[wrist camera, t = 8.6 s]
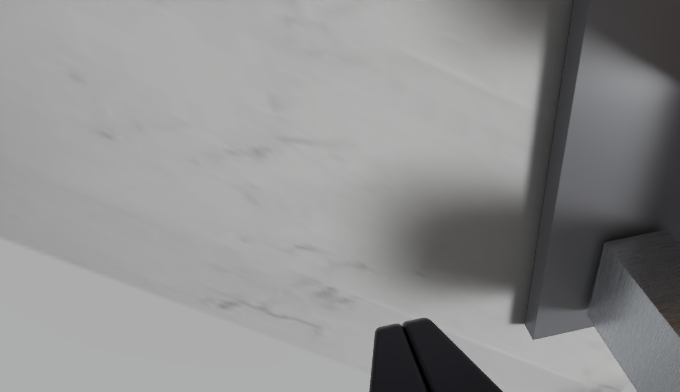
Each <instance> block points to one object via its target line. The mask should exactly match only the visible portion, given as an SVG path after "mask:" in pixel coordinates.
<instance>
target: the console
mask: <svg viewBox="0 0 680 392" xmlns="http://www.w3.org/2000/svg"><path fill="white" fill-rule="evenodd" d="M666 229H668V231H669V232H670V233H671V234H672V235H673V236H674V237H675V238H676V239H677V240H678V241H679V242H680V0H573V7H572V14H571V20H570V27H569V34H568V41H567V47H566V54H565V61H564V67H563V74H562V81H561V87H560V94H559V101H558V107H557V114H556V121H555V127H554V134H553V141H552V148H551V154H550V161H549V168H548V174H547V181H546V188H545V194H544V201H543V208H542V214H541V221H540V228H539V235H538V241H537V248H536V255H535V261H534V268H533V275H532V281H531V288H530V295H529V301H528V308H527V315H526V321H525V326H526V328H527V329H528V331H529V333H530V335H531V337H532V338H533V340H534V339H539V338H543V337H548V336H552V335H557V334H561V333H566V332H570V331H575V330H579V329H584V328H588V327H593V326H594V325H593V324H592V322H591V321H590V319H589V318H588V316H587V312H588V308H589V304H590V300H591V296H592V292H593V288H594V284H595V279H596V275H597V271H598V267H599V263H600V259H601V255H602V251H603V247H604V243H605V242H609V241H613V240H618V239H623V238H628V237H632V236H637V235H642V234H647V233H651V232H656V231H661V230H666Z"/></svg>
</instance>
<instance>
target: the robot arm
mask: <svg viewBox="0 0 680 392" xmlns="http://www.w3.org/2000/svg"><path fill="white" fill-rule="evenodd" d="M369 392H503V391H502V390H501V389H500V388H498V387H497V386H496V385H495V384H494V383H493V382H492V381H491V380H490V379H489V378H488V377H487V376H486V375H485V374H484V373H483V372H482V371H481V370H480V369H479V368H478V367H477V366H476V365H475V364H474V363H473V362H472V361H471V360H470V359H469V358H468V357H467V356H466V355H465V354H464V353H463V352H462V351H461V350H460V349H459V348H458V347H457V346H456V345H455V344H454V343H453V342H452V341H451V340H450V339H449V338H448V337H447V336H446V335H445V334H444V333H443V332H442V331H441V330H440V329H439V328H438V327H437V326H436V325H435V324H434V323H433V322H432V321H431V320H429V319H428V318H420V319H416V320H411V321H406V322H404V323H403V325H402V326H401V325H400V324H392V325H388V326H383V327H379V328H377V329H376V331H375V338H374V349H373V359H372V370H371V380H370V391H369Z"/></svg>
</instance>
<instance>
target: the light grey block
mask: <svg viewBox="0 0 680 392" xmlns="http://www.w3.org/2000/svg"><path fill="white" fill-rule="evenodd" d="M587 316H588V318H589V319H590V321H591V322H592V324H593V325H594V327H595V328H596V330H597V331H598V333H599V334H600V336H601V337H602V339H603V340H604V342H605V343H606V345H607V346H608V348H609V349H610V351H611V352H612V354H613V356H614V357H615V359H616V360H617V362H618V363H619V365H620V366H621V368H622V369H623V371H624V372H625V374H626V375H627V377H628V378H629V380H630V381H631V383H632V384H633V386H634V387H635V389H636V390H637V392H680V242H679V241H678V240H677V239H676V238H675V237H674V236H673V235H672V234H671V233H670V232H669V231H668V229H666V230H661V231H656V232H651V233H647V234H642V235H637V236H632V237H628V238H623V239H618V240H613V241H609V242H605V243H604V247H603V251H602V255H601V259H600V263H599V267H598V271H597V275H596V279H595V284H594V288H593V292H592V296H591V300H590V304H589V308H588V312H587Z"/></svg>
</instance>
